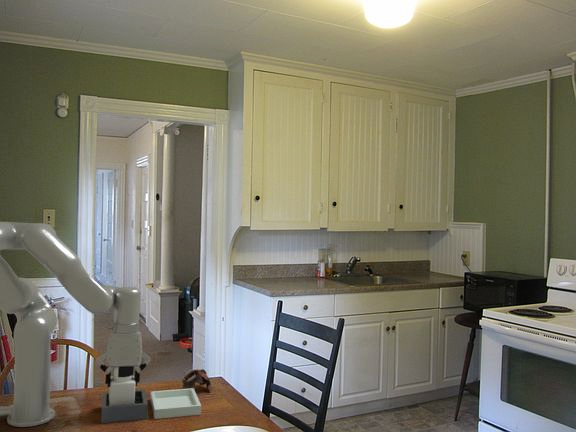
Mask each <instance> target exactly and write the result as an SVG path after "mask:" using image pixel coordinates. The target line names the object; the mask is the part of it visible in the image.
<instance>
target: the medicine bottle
mask: <svg viewBox="0 0 576 432" xmlns="http://www.w3.org/2000/svg"><path fill="white" fill-rule="evenodd" d="M134 368H135V367H134V366H127V367H113V368H112V376H111V380H110V387H108V388H109V390H108V391H109V406H115V405H126V404H134V400H135V390H136V386H135V384H136V383H135V379H134V378H135V375H134Z"/></svg>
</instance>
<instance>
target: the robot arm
mask: <svg viewBox="0 0 576 432" xmlns="http://www.w3.org/2000/svg"><path fill="white" fill-rule="evenodd" d="M3 250H14V251H15V250H16V251H17V250H18V251H27V252H28V253H29V254H30V255H31V256H32V257H33V258H34V259H36V260H37V262H39V263H40V264H41V265H42V266H43V267H44V268H45V269H46V270H47V271H48V272H49V273H51V274H52V275H53V276H54V277H55V278H56V279H57V281H58V282H59V283H60V285H61V286H62V287H63V288H64V289H65V290H66V291H67V292H68V294H69V295H70V296H71V297H72V298H73V299H74V300H75V301H77V303H79V305H81V306H82V307H83V308H84V309H85V310H86V311H87V312H89V313H91V314H93V315H95V316H96V315H97V316H100V315H104V314H107V313H108V312H109V311H110V310H111V309H113V320H112V321H113V322H112V323H108V324H107V329H108V330H111V332H110V334H109V336H108V343H107V350H106V352H104V353H103V354H102V355H100V356H98V358H96V359H95V364H97V366H98V367H99V369H101V371H102V372H103V373H104V374H105V383H104V384H106V385H107V388H109V387H110V380H111V377H112V372H111V371H112V370H113V367H127V366H134V368H135V371H134V379H135V383H136V384H135V387H138V383H140V380H141V379H140V377H141V375H140V374H141V373H142V372H143V370H144V369H145V368H146V367H147V366H148V365H149V364H150V363H151V361H152V357H150V356H149V355H148V354H146V353H145V352H144V351H143V345H142V344H143V339H142V332H141V331H140V330H139V328H140V327H139V326H140V313H141V312H140V310H141V309H140V308H141V297H142V296H141V294H142V292H141V289H140V288H137V287H135V286H134V287H133V286H122V287H119V286H114V285H113V286H112V285H105V284H101V285H100V284H99V283H98V282H97V281H96V280H95V279H94V278H93V277H92V276H91V275H90V274H89V272H87V271H86V269H85V268H84V265H83V263H82V261H81V259H80V258H79V256H78V255H77V254H76V253H75V252H74V251H73V250H72V249H71V248H70V247H69V246H68V245H66V244H65V242H63V241H62V240H61V239H60V238H59V237H58V236H57V232H56V230H55V229H54V228H53V227H52V226H51V225H49V224H48V223H42V222H18V221H17V222H16V221H14V222H13V221H0V251H3ZM0 311H1V312H3V313H4V314H9V315H12V314H15V315H16V316H17V318H18V320H17V322H16V323H15V326H14V329H13V343H14V344H13V345H14V382H13V383H14V385H13V386H14V387H13V388H14V389H13V402H12V404H9V405H8V406H0V417H1V416H7V418H6V419H7V420H6V421H7V424H8V425H10V426H13V427H18V428H26V427H27V428H28V427H35V426H39V425H43V424H46V423H48V422H50V421H52V420H53V419H54V418H55V416H56V411H55V410H54V408H51V407H50V399H51V372H52V371H51V370H52V369H51V366H52V365H51V362H52V352H51V351H52V348H51V347H52V345H51V334H52V333H53V332H54V331H55V329H56V327H57V324H58V318H57V314H56V312H55V311H54V308H53V307H52V306H51V304H50V303H49V301H48V300H47V299H46V298H45V296H44V295H43V292H41V290H40V288H39V287H38V286H37V285H36V284H35V283H34V282H33V281H32V280H30V279H28V278H27V277H26V278H25V277H19V276H18V275H17V274H16V273H15V271H14V270H13V268H12V267H11V265H10V264H9V263H8V261H6V259H5V258H4V257H3V256H2V255H1V253H0ZM142 358H143V359H144V361H143V362H142ZM104 360H106V364H105V363H104V362H103V361H104ZM106 365H107V366H106Z"/></svg>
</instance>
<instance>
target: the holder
mask: <svg viewBox="0 0 576 432" xmlns="http://www.w3.org/2000/svg"><path fill="white" fill-rule="evenodd" d="M146 391H147V390H146V389H135V400H134V404H126V405H115V406H109V392H108V391H107V392H102V394H101V395H102V396H101V398H102V399H101V413H100V414H101V416H100V418H101V419H100V420H101V421H100V422H101V424H109V423H120V422H121V423H122V422H130V421H131V422H132V421H140V420H148V412H149V411H148V408H149V406H148V405H149V404H148V398H147V393H146Z"/></svg>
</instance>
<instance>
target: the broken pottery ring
mask: <svg viewBox="0 0 576 432" xmlns="http://www.w3.org/2000/svg"><path fill="white" fill-rule="evenodd" d="M193 376H194V377H193ZM192 377H193V378H192ZM191 378H192V379H191ZM189 379H190V380H189ZM181 382H182V389H189V388H194V390H195V389H196V384H199V385H200V386H204V385H205V386H206V389H207V390H208V394H211V393H212V391H213V387H212V384H211V380H210V378H209V376H208V375H207V371H206V370H205V369H203V368H202V369H194V370H192V371H190V372H188V373H187V374H186V375H185V376H184V378H183V379H182V380H181Z"/></svg>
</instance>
